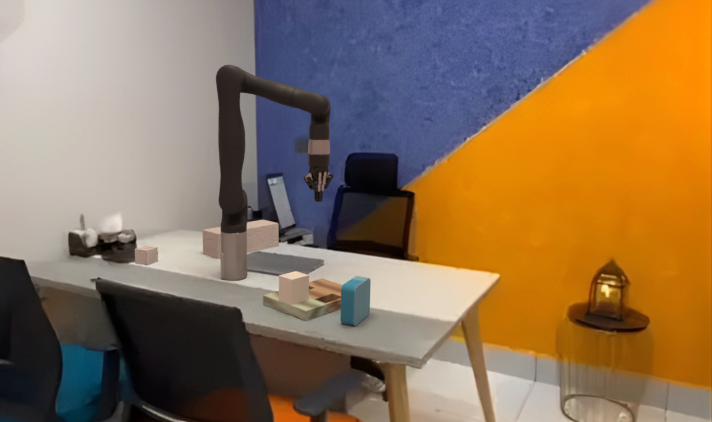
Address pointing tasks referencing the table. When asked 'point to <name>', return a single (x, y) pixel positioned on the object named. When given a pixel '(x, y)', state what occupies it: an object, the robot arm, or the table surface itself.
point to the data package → (355, 300)
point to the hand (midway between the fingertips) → (318, 201)
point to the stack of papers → (258, 238)
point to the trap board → (310, 300)
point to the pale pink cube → (146, 255)
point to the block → (293, 287)
